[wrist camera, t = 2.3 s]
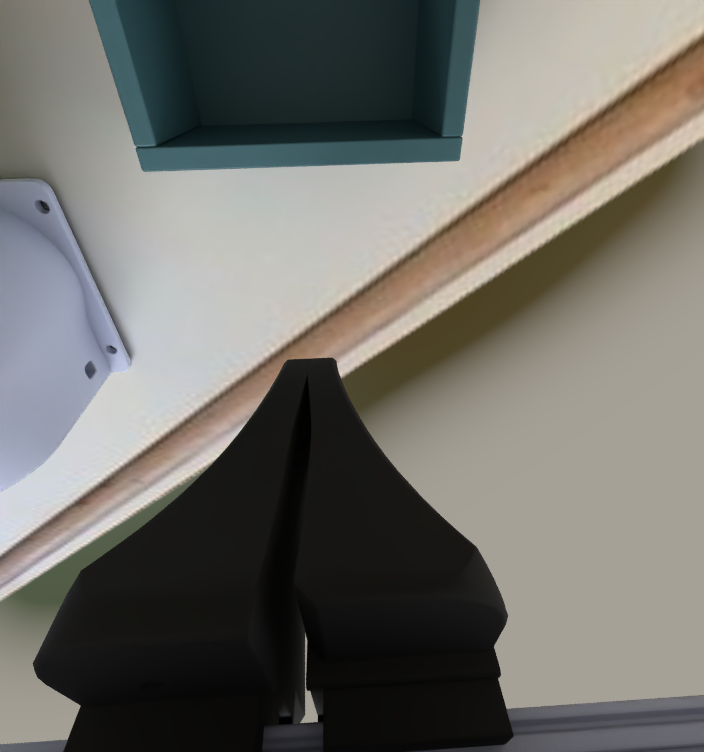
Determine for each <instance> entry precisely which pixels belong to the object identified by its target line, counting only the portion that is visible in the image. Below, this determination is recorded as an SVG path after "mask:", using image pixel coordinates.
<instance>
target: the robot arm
mask: <svg viewBox="0 0 704 752" xmlns="http://www.w3.org/2000/svg"><path fill="white" fill-rule="evenodd" d="M40 200H41V201H44V202H45V203H46V204H47V205H48V206H49V210H50V211H48V210H46V209H44V208H43V207H42V205H41V203H40ZM109 345H110V346H113V347H115V348H116V350H115V349H112V348H111V347H110V346H109ZM130 366H131V360H130V358H129V356H128V354H127V352H126V349H125V347H124V345H123V343H122V341H121V338H120V336H119V334H118V332H117V330H116V328H115V325H114V323H113V321H112V319H111V317H110V314H109V312H108V310H107V308H106V306H105V303H104V301H103V299H102V297H101V295H100V292H99V290H98V288H97V286H96V284H95V282H94V279H93V277H92V275H91V273H90V271H89V268H88V266H87V264H86V262H85V260H84V257H83V255H82V253H81V251H80V249H79V246H78V244H77V242H76V240H75V238H74V236H73V233H72V231H71V229H70V227H69V225H68V222H67V220H66V218H65V216H64V214H63V211H62V209H61V207H60V205H59V203H58V200H57V198H56V196H55V194H54V192H53V190H52V188H51V187H50V186H49V185H48V184H47V183H46V182H45V181H43V180H41V179H37V178H24V179H0V492H1V491H3V490H5V489H7V488H8V487H10V486H12V485H14V484H15V483H17V482H18V481H20V480H22V479H23V478H25V477H26V476H27V475H29V474H30V473H32V472H33V471H34V470H36V469H37V468H38V467H39V466H40V465H42V464H43V463H44V462H45V461H46V460H47V459H48V458H49V457H50V456H51V455H52V454H53V453H54V452H55V450H56V449H57V448H58V447H59V445H60V444H61V443H62V441H63V440H64V438H65V437H66V436H67V434H68V433H69V431H70V430H71V428H72V427H73V426H74V424H75V423H76V421H77V420H78V419H79V417H80V416H81V414H82V413H83V412H84V410H85V409H86V407H87V406H88V405H89V403H90V402H91V400H92V399H93V397H94V396H95V395H96V393H97V392H98V390H99V389H100V388H101V386H102V385H103V383H104V382H105V381H106V379H107V378H108V376H109V375H110V373H115V372H126V371H127V370H128V369H129V368H130ZM507 618H508V614H507V611H506V609H505V604H504V601H503V599H502V596H501V594H500V591H499V589H498V587H497V585H496V582H495V580H494V578H493V576H492V574H491V572H490V570H489V568H488V566H487V564H486V563H485V561H484V559H483V557H482V555H481V554H480V552H479V550H478V549H477V547H476V546H475V545H474V544H472V543H471V542H470V541H469V540H468V539H467V538H465V537H464V536H463V535H462V534H461V533H459V532H458V531H457V530H456V529H455V528H454V527H453V526H452V525H451V524H449V523H448V522H447V521H446V520H445V519H444V518H443V517H442V516H440V514H439V513H437V511H436V510H435V509H433V508H432V507H431V506H430V505H429V504H428V503H427V502H426V501H425V500H424V499H423V498H422V497H421V496H420V495H419V494H418V492H417V491H416V490H415V489H414V488H413V487H412V486H411V485H410V484H409V483H408V481H407V480H406V479H405V478H404V477H403V476H402V475H401V474H400V473H399V472H398V471H397V469H396V468H395V467H394V466H393V464H392V463H391V462H390V461H389V459H388V458H387V457H386V456H385V454H384V453H383V452H382V450H381V449H380V448H379V446H378V445H377V443H376V442H375V441H374V439H373V438H372V436H371V435H370V433H369V432H368V430H367V429H366V427H365V425H364V424H363V422H362V420H361V419H360V417H359V416H358V414H357V412H356V410H355V408H354V406H353V404H352V402H351V401H350V398H349V397H348V395H347V392H346V390H345V388H344V386H343V383H342V381H341V378H340V375H339V372H338V368H337V362H336V360H335V359H333V358H314V359H293V360H287V361H286V362H285V363H284V365H283V367H282V369H281V371H280V373H279V375H278V376H277V378H276V380H275V382H274V383H273V385H272V387H271V388H270V390H269V392H268V393H267V395H266V396H265V398H264V399H263V401H262V402H261V404H260V405H259V407H258V408H257V410H256V411H255V413H254V414H253V415H252V417H251V418H250V419H249V421H248V422H247V423H246V425H245V426H244V427H243V428H242V430H241V431H240V432H239V434H238V435H237V436H236V437H235V439H234V440H233V441H232V442H231V443H230V445H229V446H228V447H227V448H226V449H225V450H224V452H223V453H222V454H221V455H220V456H219V457H218V458H217V459H216V460H215V461H214V462H213V463H212V465H211V466H210V467H209V468H208V469H207V470H206V471H205V472H204V473H203V474H202V475H201V476H200V477H199V478H198V479H197V480H196V481H195V482H194V483H193V484H191V486H189V487H188V488H187V489H186V490H185V491H184V492H183V493H182V494H181V495H179V497H177V498H176V499H175V500H174V501H173V502H171V503H170V504H169V505H168V506H167V507H166V508H164V509H163V510H162V511H161V512H159V513H158V514H157V515H156V516H155V517H154V518H152V519H151V520H150V521H149V522H147V523H146V524H145V525H144V526H142V527H141V528H140V529H139V530H137V531H136V532H135V533H133V534H132V535H131V536H129V537H128V538H126V539H125V540H124V541H122V542H121V543H119V544H118V545H117V546H115V547H114V548H112V549H111V550H110V551H108V552H107V553H105V554H104V555H103V556H102V557H100V558H98V559H97V560H96V561H94V562H93V563H91V564H90V565H89V566H87V567H86V568H84V569H83V570H81V572H80V573H79V575H78V577H77V579H76V580H75V582H74V584H73V585H72V587H71V589H70V590H69V592H68V593H67V595H66V597H65V599H64V601H63V603H62V605H61V607H60V609H59V611H58V613H57V615H56V617H55V619H54V621H53V623H52V625H51V627H50V630H49V631H48V634H47V636H46V638H45V640H44V642H43V644H42V646H41V648H40V650H39V652H38V654H37V656H36V658H35V660H34V662H33V666H34V670H35V673H36V675H37V677H38V678H39V679H40V680H41V681H42V682H43V683H45V684H46V685H47V686H49V687H51V688H52V689H54V690H56V691H57V692H59V693H61V694H62V695H64V696H66V697H68V698H69V699H71V700H73V701H74V702H76V703H78V704H79V705H81V707H80V709H79V712H78V714H77V717H76V720H75V722H74V725H73V728H72V730H71V733H70V735H69V738H68V740H57V741H43V742H28V743H14V744H0V752H704V695H699V696H686V697H685V696H684V697H671V698H657V699H641V700H627V701H613V702H598V703H585V704H571V705H557V706H541V707H527V708H513V709H506V706H505V702H504V699H503V695H502V692H501V688H500V684H499V681H498V678H499V677H500V676H501V672H500V667H499V663H498V660H497V656H496V653H495V649H494V645H495V643H496V641H497V639H498V637H499V636H500V634H501V632H502V630H503V629H504V627H505V625H506V622H507ZM305 633H306V637H307V641H308V643H307V672H306V688H307V691H311V695H312V698H313V701H314V704H315V708H316V711H317V714H318V722H313V723H300V722H301V720H302V719H303V717H304V716H305Z"/></svg>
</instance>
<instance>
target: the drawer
mask: <svg viewBox="0 0 704 752" xmlns="http://www.w3.org/2000/svg"><path fill="white" fill-rule="evenodd" d="M89 2H90V5H91V8H92V12H93V15H94V18H95V21H96V24H97V27H98V31H99V34H100V37H101V40H102V43H103V46H104V50H105V53H106V56H107V59H108V62H109V65H110V68H111V72H112V75H113V78H114V81H115V84H116V87H117V91H118V94H119V97H120V100H121V103H122V106H123V110H124V113H125V116H126V119H127V122H128V125H129V129H130V132H131V135H132V138H133V141H134V144H135V146H136V147H137V148H136V152H137V155H138V158H139V161H140V164H141V168H142V170H143V171H144V172H152V171H181V170H210V169H239V168H268V167H297V166H327V165H356V164H385V163H414V162H443V161H459V159H460V153H461V145H462V137H460V136H462V134H463V128H464V121H465V113H466V105H467V98H468V90H469V82H470V75H471V67H472V59H473V52H474V44H475V36H476V28H477V21H478V13H479V5H480V0H89Z"/></svg>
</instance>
